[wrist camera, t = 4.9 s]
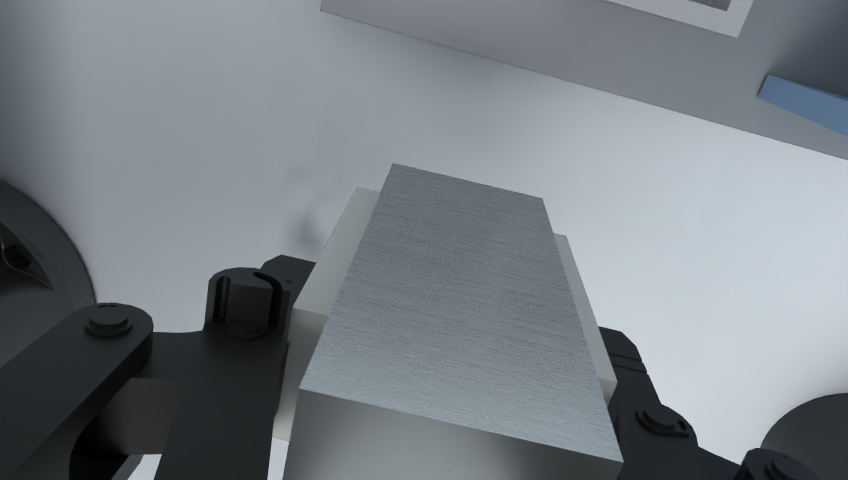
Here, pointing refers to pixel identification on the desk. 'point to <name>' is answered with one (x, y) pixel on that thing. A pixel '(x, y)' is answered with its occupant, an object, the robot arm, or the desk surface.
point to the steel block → (453, 349)
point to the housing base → (651, 50)
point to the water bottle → (815, 436)
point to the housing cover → (807, 102)
